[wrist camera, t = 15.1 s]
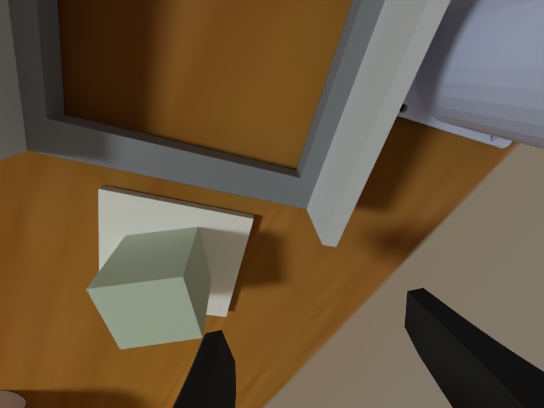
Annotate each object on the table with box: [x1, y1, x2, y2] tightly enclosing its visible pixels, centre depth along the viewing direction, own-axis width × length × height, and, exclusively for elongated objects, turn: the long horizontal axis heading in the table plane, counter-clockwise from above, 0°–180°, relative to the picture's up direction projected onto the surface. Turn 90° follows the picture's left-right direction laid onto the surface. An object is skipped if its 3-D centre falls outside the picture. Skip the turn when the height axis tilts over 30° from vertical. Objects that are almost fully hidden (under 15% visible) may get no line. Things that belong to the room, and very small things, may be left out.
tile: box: [98, 185, 254, 317], centre depth 20 cm, size 10×10×1 cm
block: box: [87, 227, 212, 349], centre depth 17 cm, size 5×5×5 cm
